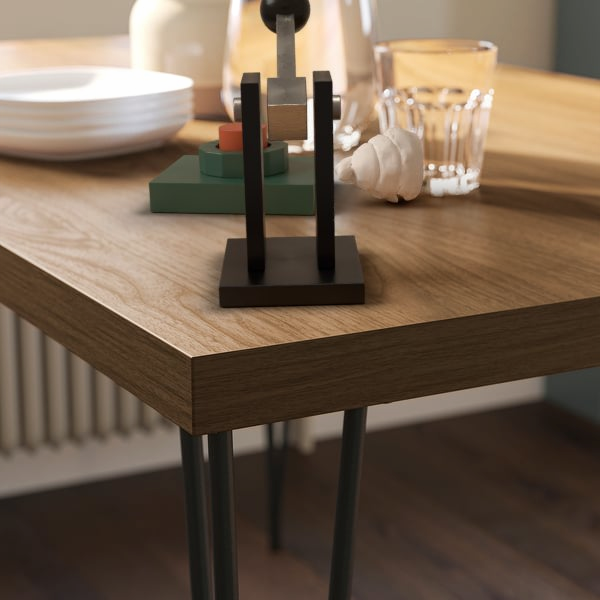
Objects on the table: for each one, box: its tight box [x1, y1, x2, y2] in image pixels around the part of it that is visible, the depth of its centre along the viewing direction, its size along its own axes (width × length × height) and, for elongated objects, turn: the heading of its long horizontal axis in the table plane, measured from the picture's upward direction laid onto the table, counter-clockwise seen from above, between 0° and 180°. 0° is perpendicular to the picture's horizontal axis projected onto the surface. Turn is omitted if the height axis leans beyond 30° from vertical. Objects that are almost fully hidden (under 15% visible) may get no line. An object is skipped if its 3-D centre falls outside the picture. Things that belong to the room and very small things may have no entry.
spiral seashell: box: [334, 126, 425, 203], centre depth 86 cm, size 6×6×5 cm
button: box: [218, 122, 268, 151], centre depth 88 cm, size 4×4×2 cm
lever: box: [259, 0, 311, 142], centre depth 70 cm, size 14×3×3 cm, turn 1°
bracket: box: [218, 70, 366, 308], centre depth 67 cm, size 10×8×12 cm
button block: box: [148, 137, 315, 216], centre depth 89 cm, size 12×10×4 cm
